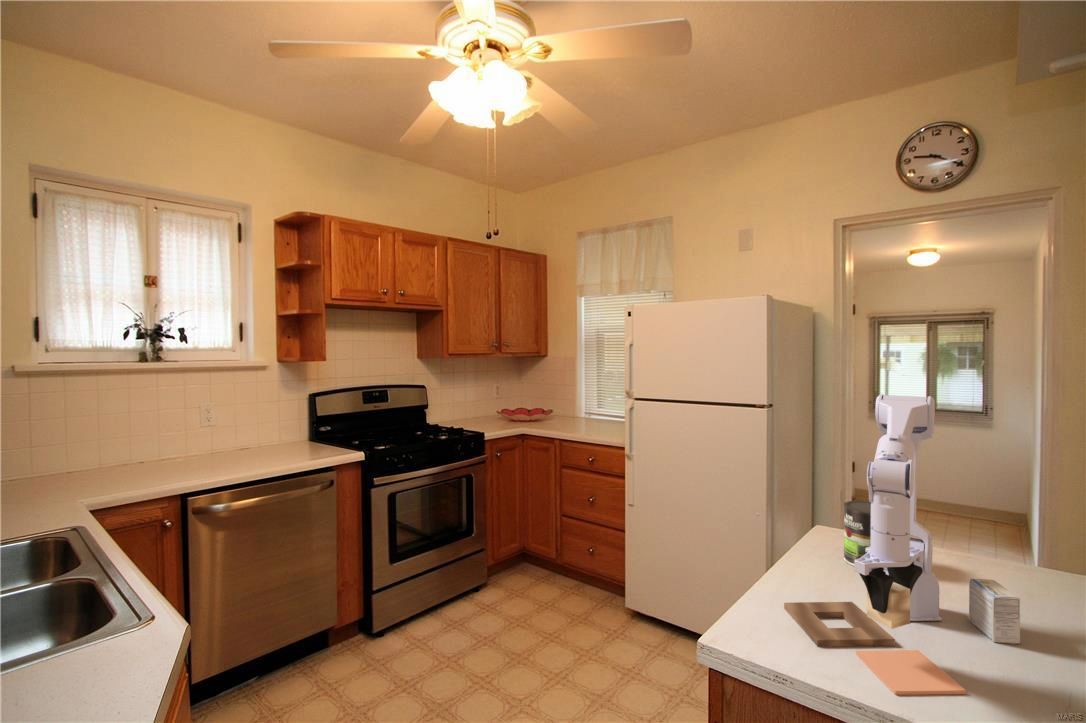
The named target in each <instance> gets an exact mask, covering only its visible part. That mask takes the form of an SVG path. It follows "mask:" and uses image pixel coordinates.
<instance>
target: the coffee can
mask: <svg viewBox="0 0 1086 723" xmlns="http://www.w3.org/2000/svg"><path fill="white" fill-rule="evenodd" d="M843 508H844V510H843V511H844V516H843V517H844V518H843V519H844V520H843V522H844V525H843V530H844V531H843V561H844V562H845V563H846V564H847V565H849V566H852V567H854V561H855V560H856V559H859V558H861V557H862V556H864V555H865V554H866V553H867V552H866V551H865V548H867V547H871V502H869V500H849V501H845V502H844V503H843Z"/></svg>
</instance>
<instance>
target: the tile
mask: <svg viewBox="0 0 1086 723" xmlns="http://www.w3.org/2000/svg"><path fill="white" fill-rule="evenodd" d="M855 655H856V656H857V658H859V659H860V660H861V662H863V663H864V664H865V666H867V668H869V669H870V671H872V673H873V674H874V675H875V676H876V677H877V678H878V679H879V680H880V681H881V682H882V683H883V684H884V685H885V686H886V688H888V689H889V690H890V691H891V692H892V693H893V694H894V696H896V695H897V696H903V695H905V696H907V695H908V696H913V695H915V696H916V695H919V696H920V695H921V696H922V695H924V696H925V695H966V694H967V693H966V692H967V690H966V689H965V687H963V686H961V685H960V684H959V683H958V682H957V681H955V679H953V678H952V677H951V676H950V675H948V674H947V673H946V672H945V671H943V669H941V668H940V667H939V666H938V665H936V664H935V663H934V662H933V661H932V660H930V658H928V657H927V656H926V655H925V654H923V653H922V652H921V651H920V650H919V649H905V650H904V649H899V650H898V649H897V650H895V649H892V650H890V649H889V650H855Z"/></svg>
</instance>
